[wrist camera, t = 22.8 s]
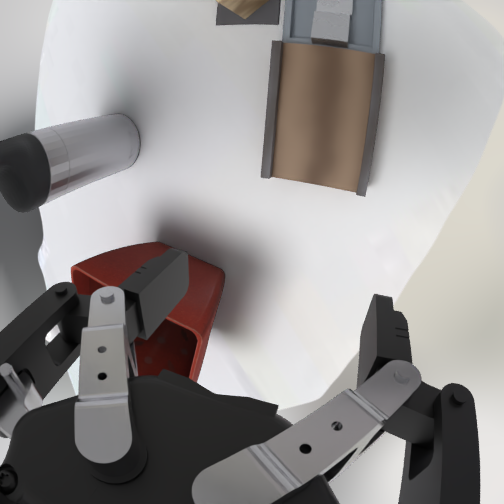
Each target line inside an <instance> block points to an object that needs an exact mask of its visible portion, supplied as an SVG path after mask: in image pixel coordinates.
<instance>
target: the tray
mask: <svg viewBox="0 0 504 504" xmlns="http://www.w3.org/2000/svg"><path fill="white" fill-rule="evenodd" d="M316 8H317V0H285V12H284V25H283V38H282V42H283V43H296V44H308V45H318V46H327V47H334V48H342V49H348V50H355V51H361V52H366V53H372V54H375V53H379V47H380V31H381V10H382V0H353V13H352V18H350V29H349V40H348V48H344V47H337V46H330V45H322V44H312V41H311V31H312V24H313V17H314V11H316Z"/></svg>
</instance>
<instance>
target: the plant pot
mask: <svg viewBox="0 0 504 504" xmlns="http://www.w3.org/2000/svg"><path fill="white" fill-rule="evenodd" d="M170 248H172V247H170V246H168V245H165V244H163V243H161V242H150V243H143V244H137V245H131V246H127V247H122V248H118V249H115V250H111V251H108V252H105V253H102V254H99V255H97V256H94V257H91V258H89V259H87V260H84V261H82V262H80V263H78V264H76V265H74V266H72V267H71V278H72V283H73V284H75V286H76V288H77V292H78V294H82V295H92V294H93V293H94V292H95V291H96V290H98V289H100V288H103V287H107V286H114V287H118V286H119V285H120V284H121V283H122V282H123V281H125V280H126V279H127V278H128V277H129V276H130V275H131V274H133V273H134V272H135V271H136V270H137V269H138V268H141V266H142V265H143V264H144V263H145V262H147V261H148V260H150V259H152V258H155V257H157V256H159V257H160V256H161V255H162V254H164V253H165V252H166V251H167V250H168V249H170ZM173 249H174V248H173ZM188 266H189V286H188V290H187V292H186V294H185V296H184V297H183V298H182V299H181V300H180V301H179V303H178V304H177V305H176V306H175V307H174V309H173V310H172V311H171V312H170V313H169V315H168V316H167V317H166V318H165V319H164V320H163V322H162V323H161V324H160V325H159V326H158V328H157V329H156V330H155V331H154V332H153V334H152V335H151V336H150V337H149V338H148V340H145V339H142V338H140V337H136V338H135V339H134V344H135V352H136V361H137V369H138V376H142V375H155V376H158V375H159V374H160V372H161V371H162V370H163V369H166V370H168V371H171V372H174V373H176V374H179V375H182V376H185V377H187V378H190V379H191V380H193V381H195V382H196V383H197V380H198V377H199V374H200V370H201V367H202V363H203V360H204V356H205V352H206V348H207V344H208V340H209V336H210V332H211V328H212V325H213V322H214V318H215V315H216V312H217V308H218V305H219V302H220V298H221V295H222V291H223V287H224V281H225V274H224V271H223V270H222V269H220V268H218V267H216V266H213V265H211V264H208V263H206V262H204V261H202V260H199V259H197V258H195V257H192V256H190V255H188Z"/></svg>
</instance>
